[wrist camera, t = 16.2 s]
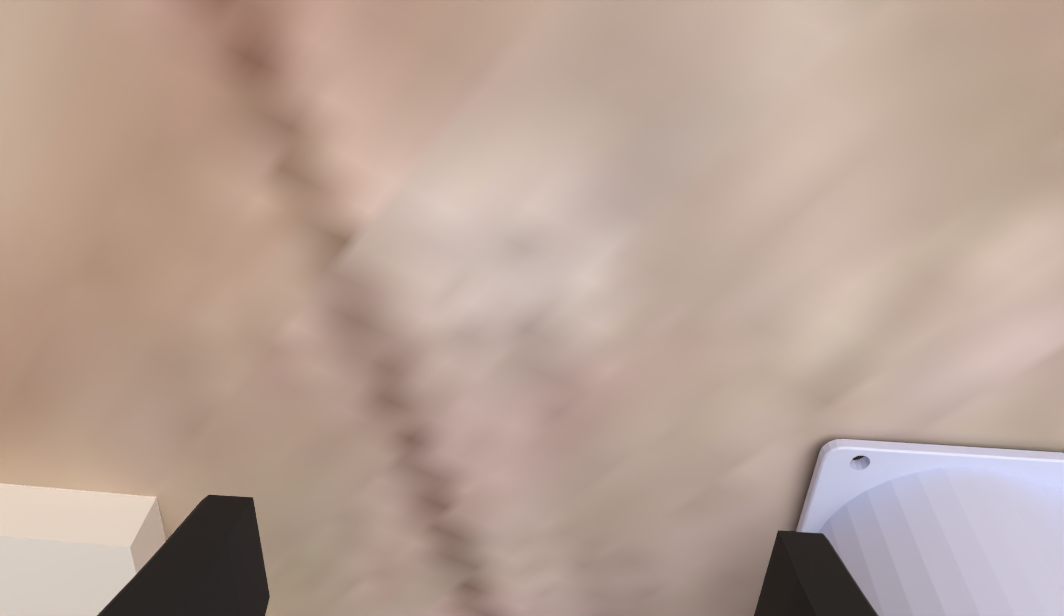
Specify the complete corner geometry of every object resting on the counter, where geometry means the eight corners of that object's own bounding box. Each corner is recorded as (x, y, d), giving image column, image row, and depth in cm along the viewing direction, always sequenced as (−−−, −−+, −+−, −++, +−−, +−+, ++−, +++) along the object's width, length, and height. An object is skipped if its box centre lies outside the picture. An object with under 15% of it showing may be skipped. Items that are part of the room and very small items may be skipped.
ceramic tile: (129, 547, 25) (-175, 520, 25) (169, 714, 30) (-90, 691, 30) (161, 488, 27) (-122, 463, 27) (194, 653, 32) (-50, 631, 32)
